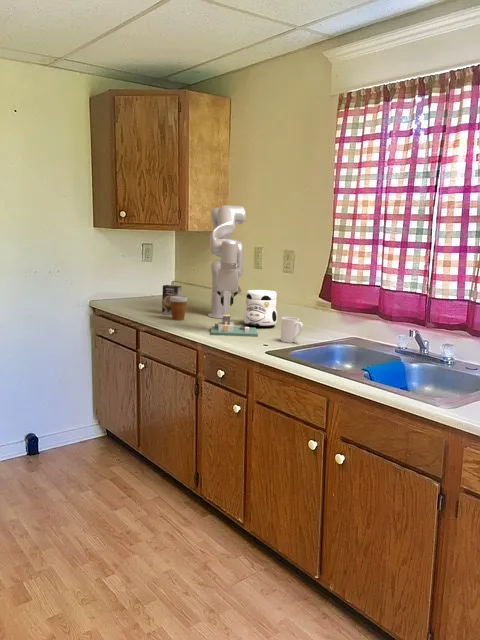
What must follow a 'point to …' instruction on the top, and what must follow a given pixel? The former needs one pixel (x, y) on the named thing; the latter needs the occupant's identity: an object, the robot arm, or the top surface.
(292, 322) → the mug
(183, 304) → the disposable coffee cup
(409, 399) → the top surface
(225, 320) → the plug
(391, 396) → the top surface
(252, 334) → the board
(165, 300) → the coffee box
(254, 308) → the milk container
